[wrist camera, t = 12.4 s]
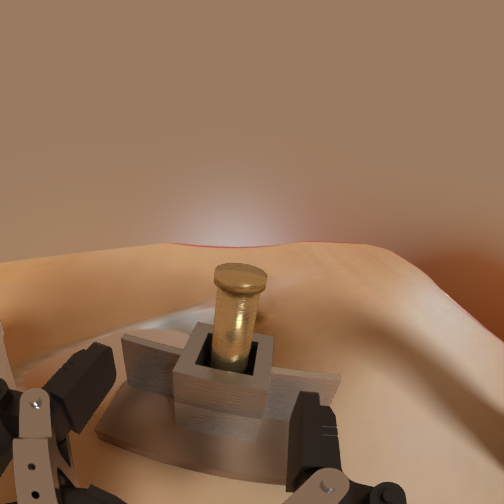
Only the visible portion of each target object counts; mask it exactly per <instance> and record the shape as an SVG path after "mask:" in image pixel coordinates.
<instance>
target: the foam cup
mask: <svg viewBox="0 0 504 504" xmlns="http://www.w3.org/2000/svg"><path fill="white" fill-rule="evenodd" d="M3 336H4V331H3V328H2V324H1V321H0V378H2V379H4V380H5V381H6V383H7V385H8V387H9V389H12V390H16V391H17V388H16V384H15V381H14V378H13V375H12V371H11V368H10V364H9V360H8V357H7V353H6V348H5V344H4V340H3Z"/></svg>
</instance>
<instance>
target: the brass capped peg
mask: <svg viewBox="0 0 504 504" xmlns="http://www.w3.org/2000/svg"><path fill="white" fill-rule="evenodd" d="M266 282H267V274H266V273H265V272H264V271H263V270H261V269H259V268H257V267H255V266H252V265H248V264H242V263H226V264H221V265H219V266H217V267H216V269H215V275H214V283H215V285H216V286H217V287H218V288H217V298H216V308H215V318H214V329H213V339H212V351H211V362H210V368H214V369H219V370H224V371H229V372H234V373H240V374H245V375H246V370H247V364H248V359H249V353H250V348H251V342H252V337H253V331H254V325H255V320H256V314H257V308H258V302H259V297H260V293H261V292H263V291H264V290H265V287H266Z"/></svg>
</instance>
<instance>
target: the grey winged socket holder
mask: <svg viewBox="0 0 504 504" xmlns="http://www.w3.org/2000/svg"><path fill="white" fill-rule="evenodd" d="M213 329H214V325H210V324H205V323H200V322H198V323H197V325H196V326H195V328H194V330H193V332H192V334H191V336H190V338H189V340H188V342H187V344H186V346H185V348H184V349H180V348H176V347H172V346H167V345H164V344H160V343H156V342H152V341H149V340H145V339H141V338H138V337H135V336H131V335H128V334H124V335H123V337H122V338H121V342H122V349H123V356H124V362H125V368H126V374H127V380H128V385H130V386H133V387H136V388H139V389H142V390H145V391H148V392H151V393H155V394H158V395H161V396H165V397H168V398H172V399H174V409H175V422H176V426H180V427H183V428H187V429H191V430H195V431H200V432H204V433H208V434H213V435H218V436H223V437H228V438H233V439H239V440H245V441H251V442H255V441H256V438H257V434H258V431H259V427H260V424H261V420H262V417H263V418H271V419H278V420H287V421H290V417H291V413H292V411H293V408H294V405H295V402H296V400H297V397H298V394H299V392H300V391H308V392H318V393H319V396H320V405H323V406H330V404H331V402H332V399H333V397H334V395H335V393H336V391H337V388H338V386H339V384H340V382H341V378H340V374H329V373H319V372H309V371H301V370H293V369H285V368H278V367H272V357H273V345H274V336H271V335H264V334H258V333H253V337H252V342H251V348H250V353H249V359H248V364H247V370H246V375H245V374H240V373H234V372H229V371H224V370H219V369H214V368H210V362H211V351H212V339H213Z"/></svg>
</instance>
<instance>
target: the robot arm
mask: <svg viewBox="0 0 504 504" xmlns="http://www.w3.org/2000/svg"><path fill="white" fill-rule="evenodd" d="M115 379H116V369H115V364H114V358H113V352H112V349H111V347H109V346H106V345H103V344H100V343H97V342H94V343H93V344H92V345H91V346H90V347H89V348H88V349H87V350H84V349H83V350H81V351H79V352H77V353H75V354H73V355H72V356H71V357H70V359H69V360H68V361H67V363H65V364H64V365H63V366H62V368H60V369H59V370H58V371H57V372H56V374H54V376H53V377H52V378H51V379H50V380H49V381H48V382H47V383H46V384H45V385H44V387H42V388H41V389H40V388H31V389H28V390H26V391H25V392H24V393H23V392H19V391H16V390H12V389H9V387H8V385H7V383H6V381H5V380H4V379H2V378H0V477H1V475H2V474H3V472H4V470H5V469H6V467H7V466H8V464H9V462H10V461H11V459H12V458H13V464H14V477H15V487H16V495H17V501H16V502H12V503H7V504H127V503H125V502H124V501H122V500H121V499H119V498H118V497H117V496H115V495H113V494H110V493H108V492H106V491H104V490H102V489H99V488H97V487H95V486H93V485H91V484H90V486H89V488H88V489H86V488H82V487H81V484H80V482H79V479H78V477H77V475H76V473H75V469H74V464H73V459H72V454H71V448H70V442H69V436H68V433H69V432H70V430H72V431H74V432H76V433H78V434H80V433H81V431H82V430H83V428H84V427H85V425H86V424H87V422H88V421H89V419H90V418H91V416H92V415H93V413H94V412H95V411H96V409H97V408H98V406H99V405H100V403H101V402H102V400H103V399H104V398H105V396H106V395H107V393H108V392H109V390H110V389H111V388H112V386H113V385H114V383H115ZM336 427H337V424H336V416H335V414H334V413H333V411H332V409H331V408H330V406H323V405H320V396H319V393H318V392H308V391H300V392H299V394H298V397H297V400H296V402H295V405H294V408H293V411H292V413H291V417H290V421H289V435H288V459H287V477H286V492H293V494H292V495H291V496H290V497H289V498H288V499H287V500H286V501H285V502H283V503H282V504H407V503H406V496H405V492H404V490H403V489H402V488H401V487H400V486H399V485H398V484H396V483H393V482H383V483H380V484H378V485H377V486H375V487H372V486H367V485H363V484H358V483H355V482H353V481H351V480H350V479H348V478H347V476H346V475H345V474H344V473H343V471H342V468H341V460H340V450H339V441H338V437H337V435H338V432H337V428H336Z"/></svg>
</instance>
